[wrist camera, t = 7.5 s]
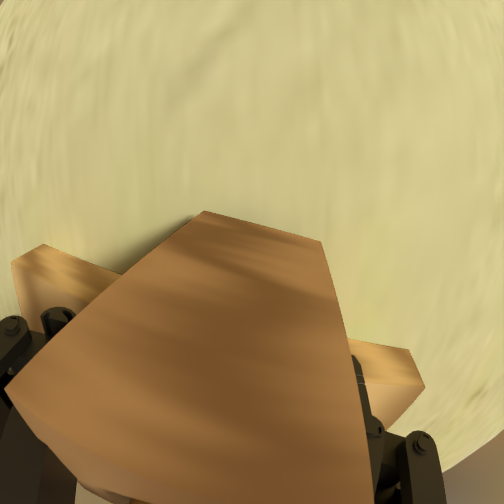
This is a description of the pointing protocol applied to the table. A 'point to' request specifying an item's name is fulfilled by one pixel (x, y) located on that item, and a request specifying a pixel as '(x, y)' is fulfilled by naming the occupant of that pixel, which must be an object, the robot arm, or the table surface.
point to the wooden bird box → (207, 377)
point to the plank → (99, 279)
